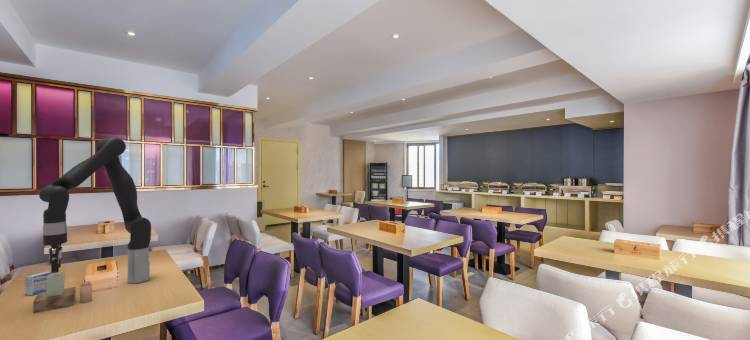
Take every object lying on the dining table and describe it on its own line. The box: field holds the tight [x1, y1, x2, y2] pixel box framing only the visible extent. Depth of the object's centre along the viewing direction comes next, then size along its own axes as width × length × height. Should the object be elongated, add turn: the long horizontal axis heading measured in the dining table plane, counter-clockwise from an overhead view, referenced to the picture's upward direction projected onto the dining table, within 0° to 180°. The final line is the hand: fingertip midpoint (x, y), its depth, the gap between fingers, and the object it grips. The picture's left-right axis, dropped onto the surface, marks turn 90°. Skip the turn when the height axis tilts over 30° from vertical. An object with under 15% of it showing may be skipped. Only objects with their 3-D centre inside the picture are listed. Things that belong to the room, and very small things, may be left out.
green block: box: [46, 272, 66, 297], centre depth 143 cm, size 5×5×8 cm
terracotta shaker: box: [79, 280, 93, 304], centre depth 147 cm, size 4×4×9 cm
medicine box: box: [24, 271, 52, 296], centre depth 157 cm, size 8×4×9 cm, turn 168°
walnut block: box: [32, 286, 76, 314], centre depth 143 cm, size 12×12×5 cm
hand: (56, 270), depth 143 cm, fingers open, 8 cm apart
